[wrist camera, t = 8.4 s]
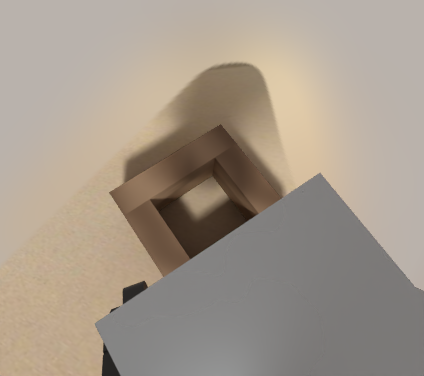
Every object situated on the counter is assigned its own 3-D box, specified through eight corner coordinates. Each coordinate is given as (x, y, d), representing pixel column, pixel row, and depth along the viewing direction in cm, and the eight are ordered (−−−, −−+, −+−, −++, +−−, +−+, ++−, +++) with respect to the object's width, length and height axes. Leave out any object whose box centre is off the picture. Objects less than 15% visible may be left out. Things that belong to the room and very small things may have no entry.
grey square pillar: (216, 388, 14) (280, 694, 3) (165, 302, 15) (94, 323, 4) (291, 328, 15) (520, 413, 4) (238, 251, 16) (320, 172, 5)
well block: (189, 310, 27) (187, 314, 23) (121, 206, 30) (109, 192, 26) (288, 234, 30) (303, 225, 25) (217, 146, 33) (220, 124, 28)
